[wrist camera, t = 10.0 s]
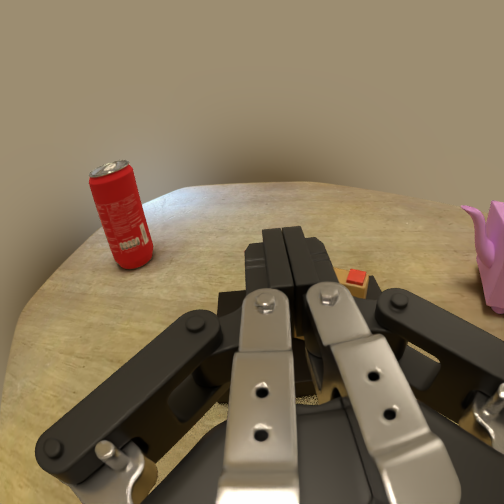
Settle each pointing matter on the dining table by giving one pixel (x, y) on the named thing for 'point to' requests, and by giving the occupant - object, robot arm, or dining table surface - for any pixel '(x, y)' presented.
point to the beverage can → (121, 214)
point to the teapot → (490, 252)
